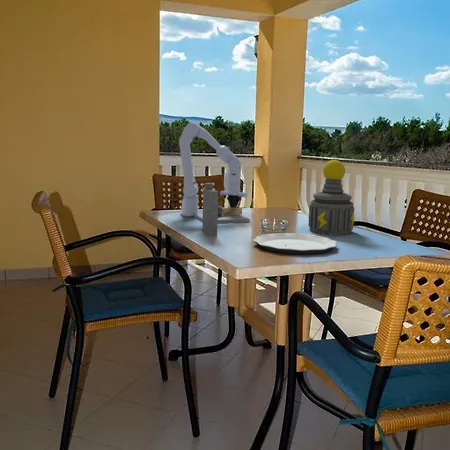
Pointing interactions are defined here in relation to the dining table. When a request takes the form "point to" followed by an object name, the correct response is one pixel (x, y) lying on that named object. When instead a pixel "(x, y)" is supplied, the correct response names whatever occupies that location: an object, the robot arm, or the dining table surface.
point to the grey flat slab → (225, 218)
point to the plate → (295, 243)
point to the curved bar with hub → (229, 211)
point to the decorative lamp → (332, 204)
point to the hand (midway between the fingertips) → (233, 211)
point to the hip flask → (210, 210)
